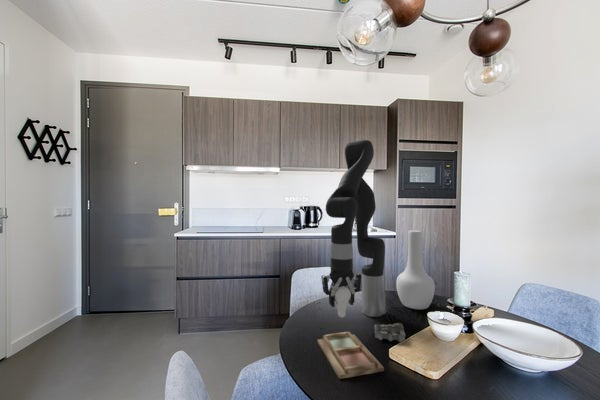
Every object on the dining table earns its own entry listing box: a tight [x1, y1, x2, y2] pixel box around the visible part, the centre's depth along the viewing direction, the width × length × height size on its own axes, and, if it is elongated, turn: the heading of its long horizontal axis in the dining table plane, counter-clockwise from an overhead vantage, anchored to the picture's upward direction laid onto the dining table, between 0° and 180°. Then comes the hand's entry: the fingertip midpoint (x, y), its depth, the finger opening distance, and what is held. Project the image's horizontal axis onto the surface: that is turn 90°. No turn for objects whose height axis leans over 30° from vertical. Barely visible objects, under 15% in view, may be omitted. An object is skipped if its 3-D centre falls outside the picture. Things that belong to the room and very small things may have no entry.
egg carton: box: [374, 322, 406, 343], centre depth 100 cm, size 11×8×4 cm
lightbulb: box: [334, 286, 351, 318], centre depth 92 cm, size 6×6×11 cm
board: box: [316, 331, 385, 380], centre depth 88 cm, size 14×20×2 cm
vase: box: [396, 229, 436, 310], centre depth 128 cm, size 17×17×35 cm
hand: (341, 305), depth 92 cm, fingers closed on lightbulb, 6 cm apart
